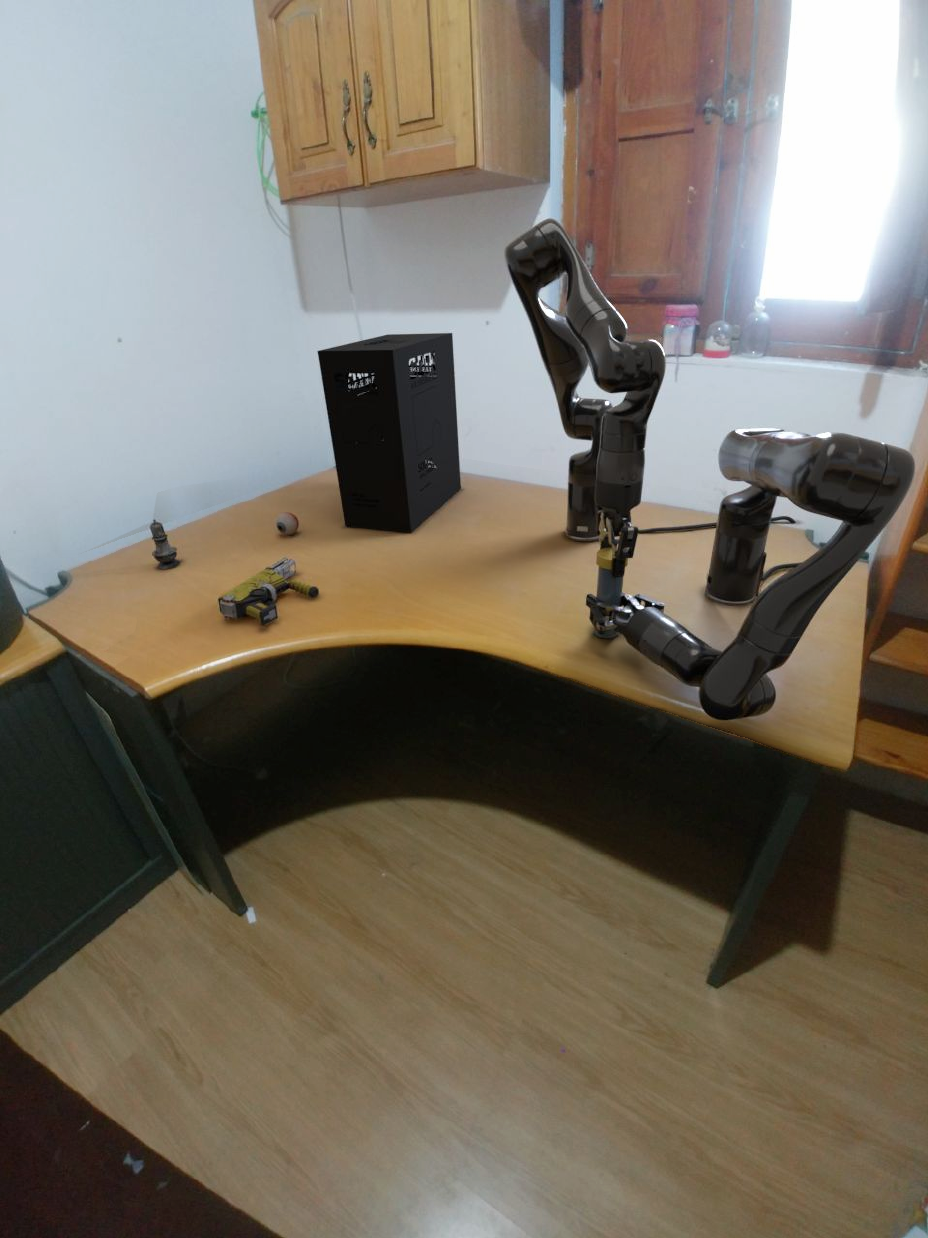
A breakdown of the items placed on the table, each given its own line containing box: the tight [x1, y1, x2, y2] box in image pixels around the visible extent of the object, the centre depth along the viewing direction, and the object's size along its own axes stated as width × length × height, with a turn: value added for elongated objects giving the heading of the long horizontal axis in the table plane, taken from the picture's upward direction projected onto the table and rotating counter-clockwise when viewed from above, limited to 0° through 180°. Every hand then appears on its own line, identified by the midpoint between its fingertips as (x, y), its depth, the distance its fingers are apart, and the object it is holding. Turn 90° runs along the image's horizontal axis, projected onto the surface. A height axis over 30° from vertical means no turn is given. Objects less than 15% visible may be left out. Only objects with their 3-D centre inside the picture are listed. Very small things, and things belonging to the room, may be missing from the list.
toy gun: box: [217, 557, 320, 627], centre depth 130 cm, size 5×24×15 cm
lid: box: [595, 547, 629, 569], centre depth 105 cm, size 5×5×2 cm
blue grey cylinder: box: [593, 566, 625, 639], centre depth 109 cm, size 4×4×16 cm
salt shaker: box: [149, 519, 181, 570], centre depth 148 cm, size 6×6×12 cm
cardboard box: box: [317, 332, 462, 534], centre depth 168 cm, size 38×20×45 cm, turn 159°
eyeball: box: [275, 511, 300, 536], centre depth 163 cm, size 6×6×6 cm
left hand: (611, 568), depth 106 cm, fingers closed on lid, 5 cm apart
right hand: (599, 595), depth 112 cm, fingers closed on blue grey cylinder, 4 cm apart
